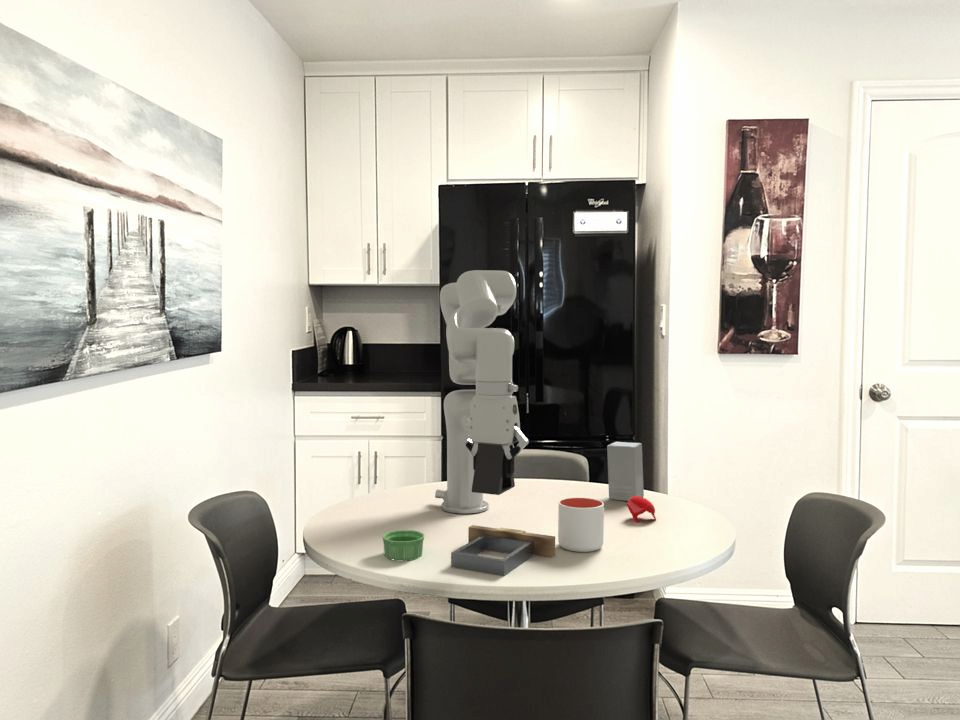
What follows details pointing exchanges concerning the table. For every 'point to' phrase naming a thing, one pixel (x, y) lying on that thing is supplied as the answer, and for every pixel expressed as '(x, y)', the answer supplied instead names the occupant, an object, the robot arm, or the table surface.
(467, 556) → the frame
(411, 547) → the ramekin
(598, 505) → the cup
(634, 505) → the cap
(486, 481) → the phone stand
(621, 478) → the skincare box
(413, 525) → the table surface
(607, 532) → the table surface
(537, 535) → the door edge rail
